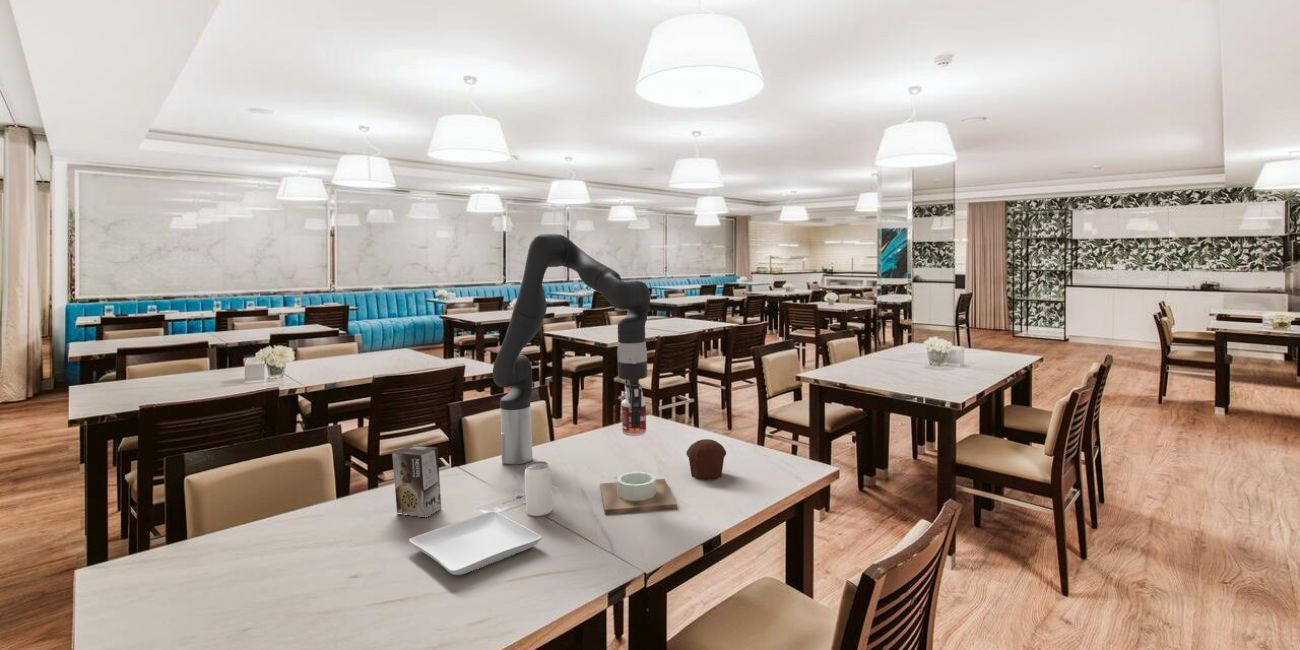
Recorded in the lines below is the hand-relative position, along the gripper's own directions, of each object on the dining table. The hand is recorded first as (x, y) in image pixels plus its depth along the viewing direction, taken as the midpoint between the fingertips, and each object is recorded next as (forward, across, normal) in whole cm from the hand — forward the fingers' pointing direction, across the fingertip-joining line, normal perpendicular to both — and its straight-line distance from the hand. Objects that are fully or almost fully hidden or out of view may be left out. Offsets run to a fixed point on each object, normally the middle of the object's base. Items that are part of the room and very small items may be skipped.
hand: (634, 423), depth 156 cm
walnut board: (+20, 0, 0) cm, 20 cm away
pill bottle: (+3, 0, 0) cm, 3 cm away
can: (+20, +4, -25) cm, 32 cm away
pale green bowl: (+19, 0, 0) cm, 19 cm away
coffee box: (+20, -2, -55) cm, 58 cm away
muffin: (+20, -13, +22) cm, 33 cm away
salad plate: (+21, +22, -38) cm, 48 cm away
